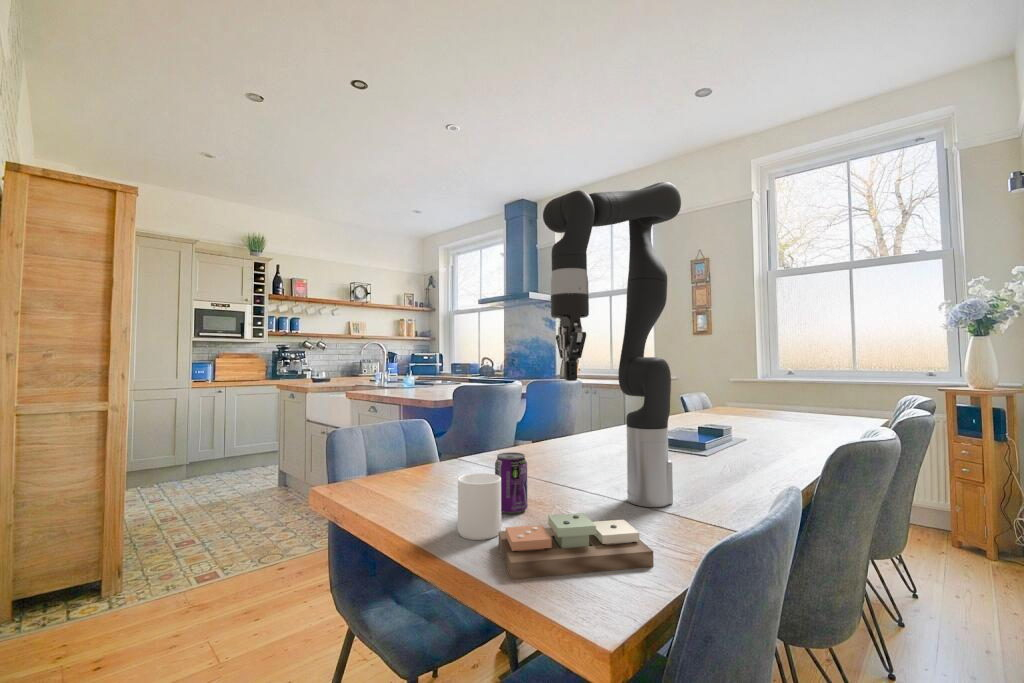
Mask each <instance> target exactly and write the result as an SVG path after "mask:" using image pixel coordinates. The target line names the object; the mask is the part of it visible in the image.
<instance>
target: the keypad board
mask: <svg viewBox="0 0 1024 683" xmlns="http://www.w3.org/2000/svg"><path fill="white" fill-rule="evenodd" d="M544 529H545V530H546V532H547V533H548V534H549V536H550V537H551V539H552V548H545V550H536V551H523V552H514V551H512V549H511V547H510V544H509V542H508V540H507V537H506V530H503V531H502V530H501V531H499V534H498V547H499V550H500V553H501V555H502V558H503V561H504V564H505V567H506V569H507V572H508V576H509V578H510V579H511V580H513V579H525V578H537V577H550V576H559V575H560V576H561V575H569V574H570V575H572V574H583V573H593V572H594V573H595V572H605V571H606V572H607V571H616V570H619V571H620V570H630V569H641V568H651V567H654V566H655V565H654V550H653V549H652V548H650V547H649V546H648V545H647V544H646V543H644V542H643V541H642V539H640V538H639V541H636V542H632V543H626V544H613V545H604V544H602V543H601V542H600V541H599V540H598V538H597V537H596V536H595V535H589V546H587V547H574V548H560V546H559V545H558V543H557V542H556V541H555V532H554V531H553V529H552V528H551V527H544Z"/></svg>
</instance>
